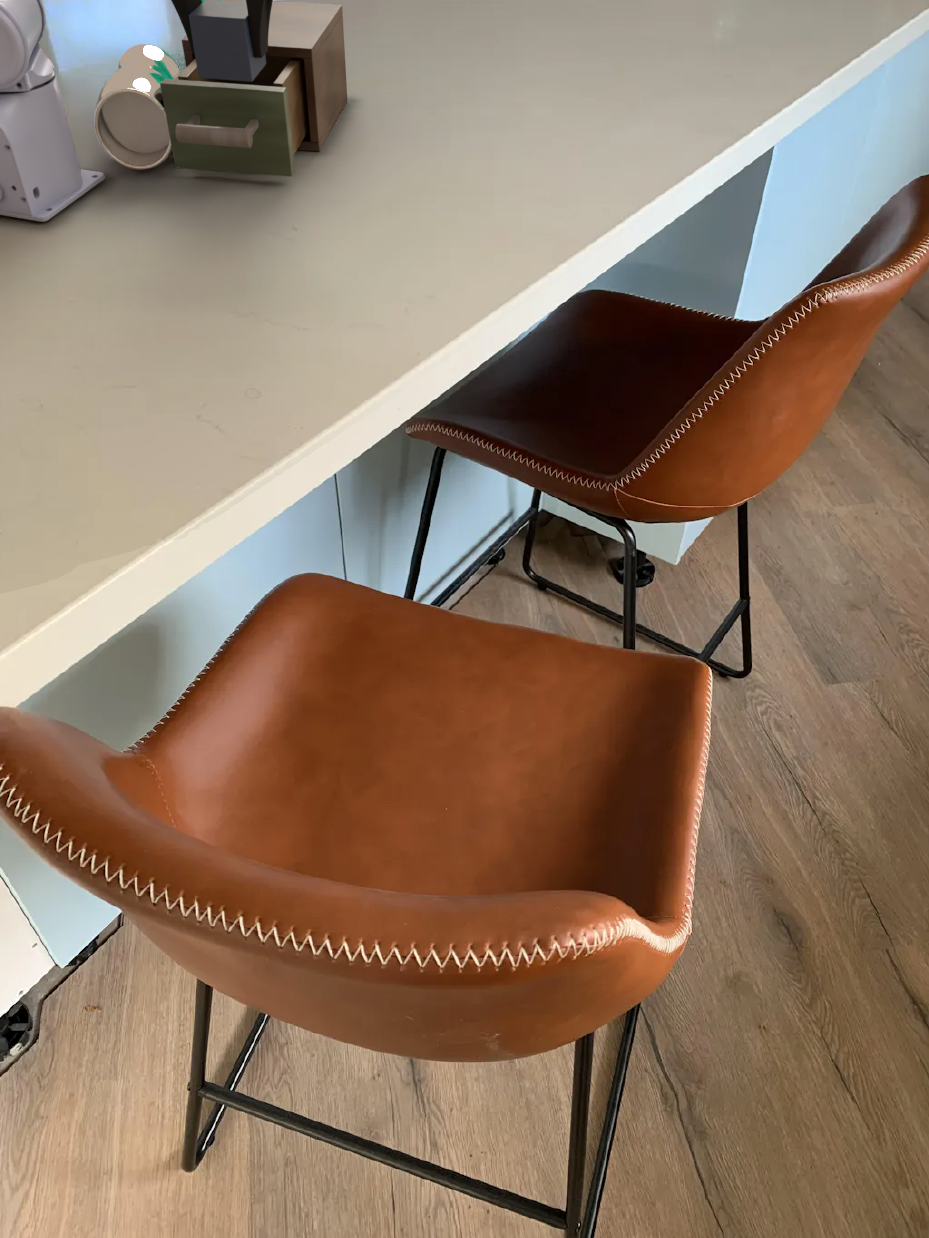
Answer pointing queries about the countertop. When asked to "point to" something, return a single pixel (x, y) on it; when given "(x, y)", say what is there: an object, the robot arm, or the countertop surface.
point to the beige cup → (136, 109)
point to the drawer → (238, 119)
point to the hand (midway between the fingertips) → (229, 51)
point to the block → (224, 41)
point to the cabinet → (309, 59)
